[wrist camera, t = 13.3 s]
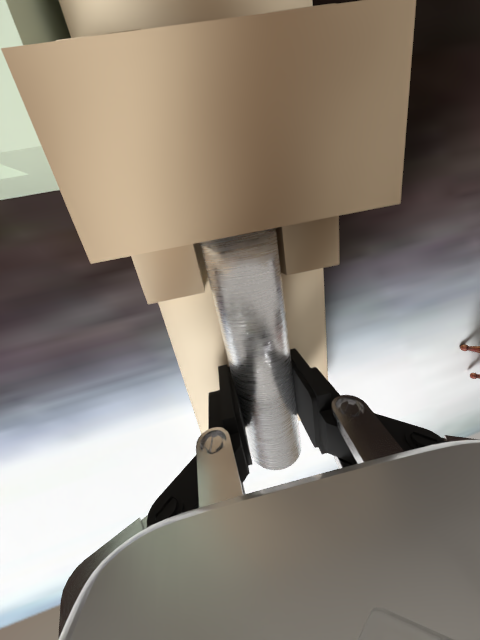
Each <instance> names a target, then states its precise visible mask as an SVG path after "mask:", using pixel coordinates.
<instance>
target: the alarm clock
mask: <svg viewBox="0 0 480 640" xmlns="http://www.w3.org/2000/svg"><path fill="white" fill-rule="evenodd" d="M460 349H461V350H462V351H467V350H469V351H474V352H478V353H480V346H468V345H465V344H463V345H461V346H460ZM470 377H471V378H473V379H476V378H479V379H480V374H476V373H471V374H470Z"/></svg>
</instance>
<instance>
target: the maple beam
mask: <svg viewBox="0 0 480 640" xmlns="http://www.w3.org/2000/svg"><path fill="white" fill-rule="evenodd" d="M59 3H60V6H61V9H62V12H63V15H64V18H65V21H66V24H67V27H68V30H69V33H70V36H71V38H68V39H61V40H56V41H53V42H45V43H38V44H30V45H23V46H15V47H8V48H1V50H2V53H3V55H4V57H5V60H6V62H7V65H8V67H9V69H10V72H11V74H12V77H13V79H14V81H15V84H16V86H17V89H18V91H19V93H20V96H21V98H22V100H23V103H24V105H25V108H26V110H27V112H28V115H29V117H30V120H31V122H32V124H33V127H34V129H35V132H36V134H37V136H38V139H39V141H40V144H41V146H42V148H43V151H44V153H45V155H46V158H47V160H48V163H49V165H50V167H51V170H52V172H53V175H54V177H55V179H56V182H57V184H58V187H59V189H60V191H61V194H62V196H63V199H64V201H65V203H66V206H67V208H68V210H69V213H70V215H71V218H72V220H73V222H74V225H75V227H76V230H77V232H78V234H79V237H80V239H81V242H82V244H83V246H84V249H85V251H86V254H87V256H88V258H89V261H90V263H91V264H92V263H97V262H102V261H107V260H113V259H118V258H123V257H128V256H131V257H132V260H133V263H134V266H135V268H136V271H137V274H138V277H139V280H140V283H141V286H142V289H143V291H144V294H145V297H146V300H147V303H148V304H152V303H157V302H158V303H159V306H160V309H161V312H162V315H163V318H164V322H165V325H166V328H167V331H168V334H169V337H170V340H171V343H172V346H173V349H174V352H175V355H176V358H177V361H178V364H179V367H180V370H181V373H182V376H183V379H184V382H185V385H186V388H187V391H188V394H189V397H190V400H191V403H192V407H193V410H194V413H195V416H196V419H197V422H198V425H199V428H200V431H201V434H202V433H204V432H205V431H206V430H208V395H209V393H210V392H214V391H218V390H220V388H219V374H218V366H222V365H226V364H227V365H228V367H229V362H228V358H227V354H226V350H225V345H224V341H223V337H222V333H221V329H220V324H219V320H218V316H217V312H216V308H215V304H214V299H213V295H212V291H211V287H210V283H209V279H208V274H207V270H206V266H205V262H204V258H203V253H202V249H201V245H200V242H205V241H210V240H216V239H221V238H226V237H231V236H236V235H241V234H247V233H252V232H257V231H262V230H267V229H272V228H276V236H277V244H278V253H279V261H280V270H281V278H282V287H283V295H284V304H285V312H286V321H287V330H288V338H289V347H290V349H294V348H295V349H296V350H297V351H298V352H299V354H300V355H301V356H302V357H303V359H304V360H305V361H306V362H307V364H308V365H309V366H310V368H313V367H316V368H318V370H319V371H320V372H321V373H322V374H323V376H324V377H325V378H326V379H327V380H328V372H327V347H326V322H325V298H324V273H323V268H325V267H330V266H335V265H339V215H345V214H350V213H355V212H360V211H365V210H370V209H375V208H381V207H386V206H391V205H396V204H400V203H401V190H402V177H403V164H404V151H405V138H406V125H407V112H408V100H409V87H410V74H411V61H412V48H413V35H414V22H415V9H416V0H361V1H354V2H346V3H339V4H336V3H332V4H325V5H317V6H313V2H312V0H59ZM297 415H298V414H297ZM298 421H300V418H299V416H298Z"/></svg>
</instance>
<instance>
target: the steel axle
mask: <svg viewBox="0 0 480 640" xmlns="http://www.w3.org/2000/svg"><path fill="white" fill-rule="evenodd" d="M200 245H201V249H202V253H203V258H204V262H205V266H206V270H207V274H208V279H209V283H210V287H211V291H212V295H213V299H214V304H215V308H216V312H217V316H218V320H219V324H220V329H221V333H222V337H223V341H224V345H225V350H226V354H227V358H228V362H229V366H230V370H231V375H232V378H233V380H234V382H235V386H236V391H237V395H238V399H239V403H240V408H241V412H242V416H243V420H244V424H245V429H246V434H247V439H248V445H249V450H250V454H251V456H252V458H253V459H254V461H255V462H256V463H257V464H258V465H260V466H262V467H263V468H266V469H270V470H281V469H285V468H287V467H289V466H291V465H292V464H293V463H294V462H295V461H296V460H297V459H298V457H299V455H300V452H301V440H300V432H299V423H298V415H297V407H296V398H295V390H294V381H293V373H292V364H291V355H290V347H289V338H288V330H287V321H286V312H285V304H284V295H283V287H282V278H281V270H280V261H279V253H278V244H277V236H276V228H272V229H267V230H262V231H257V232H252V233H247V234H241V235H236V236H231V237H226V238H221V239H216V240H210V241H205V242H200Z"/></svg>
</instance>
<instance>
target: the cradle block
mask: <svg viewBox="0 0 480 640" xmlns="http://www.w3.org/2000/svg"><path fill="white" fill-rule="evenodd" d="M68 38H71V36H70V33H69V30H68V27H67V24H66V21H65V18H64V15H63V12H62V9H61V6H60V3H59V0H0V200H3V199H9V198H15V197H21V196H27V195H32V194H38V193H44V192H50V191H56V190H60V189H59V187H58V184H57V182H56V179H55V177H54V175H53V172H52V170H51V167H50V165H49V163H48V160H47V158H46V155H45V153H44V151H43V148H42V146H41V144H40V141H39V139H38V136H37V134H36V132H35V129H34V127H33V124H32V122H31V120H30V117H29V115H28V112H27V110H26V108H25V105H24V103H23V100H22V98H21V96H20V93H19V91H18V89H17V86H16V84H15V81H14V79H13V77H12V74H11V72H10V69H9V67H8V65H7V62H6V60H5V57H4V55H3V53H2V50H1V48H8V47H15V46H23V45H30V44H38V43H45V42H53V41H56V40H61V39H68Z"/></svg>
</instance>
